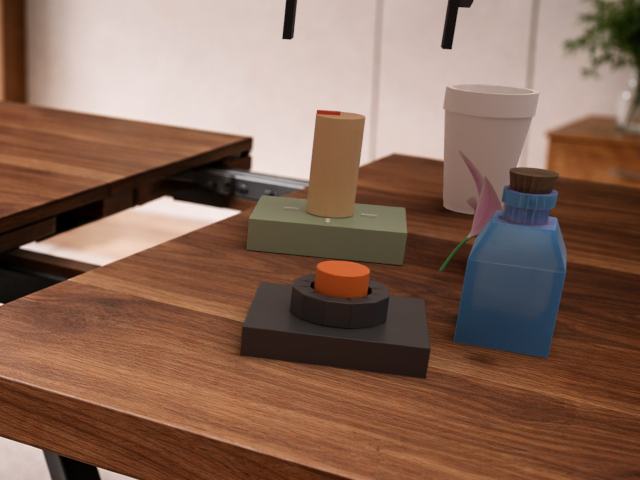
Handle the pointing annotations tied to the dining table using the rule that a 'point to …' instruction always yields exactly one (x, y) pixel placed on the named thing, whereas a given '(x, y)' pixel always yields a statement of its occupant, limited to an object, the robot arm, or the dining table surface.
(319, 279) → the button
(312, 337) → the button block
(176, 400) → the dining table surface
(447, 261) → the lily
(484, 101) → the foam cup
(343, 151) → the handle
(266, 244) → the panel
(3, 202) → the dining table surface
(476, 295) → the perfume bottle
